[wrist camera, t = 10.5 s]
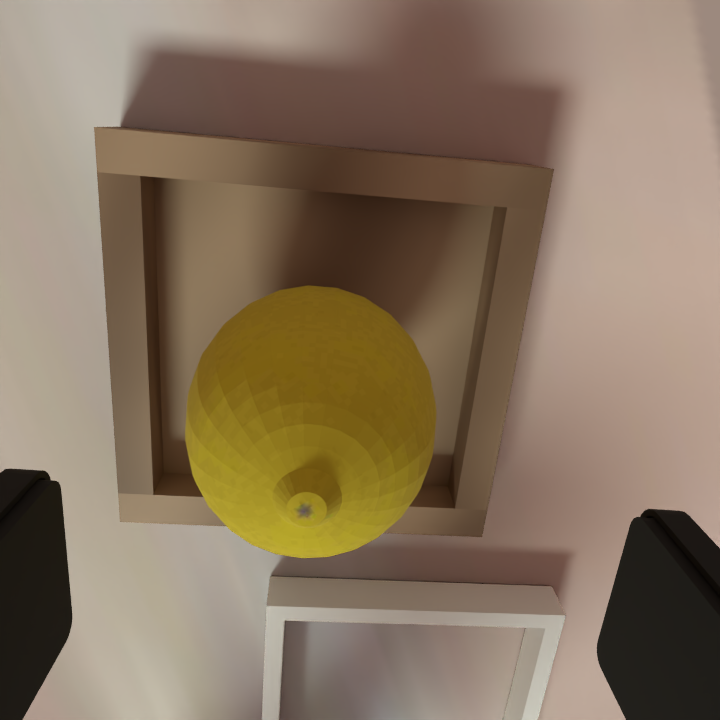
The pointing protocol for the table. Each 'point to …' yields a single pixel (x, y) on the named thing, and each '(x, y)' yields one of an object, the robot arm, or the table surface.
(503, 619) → the frame
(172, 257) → the tray
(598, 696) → the table surface
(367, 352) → the lemon
